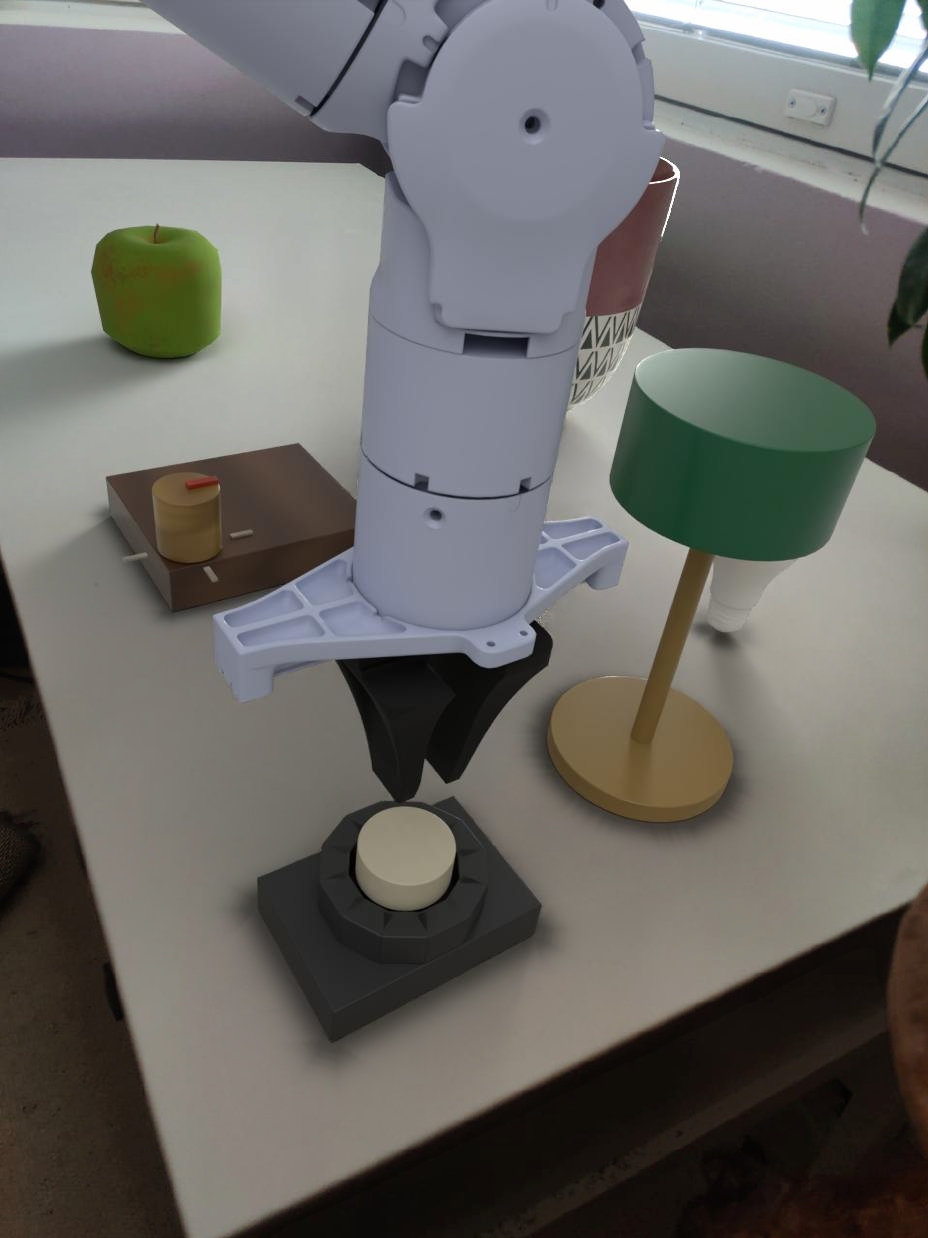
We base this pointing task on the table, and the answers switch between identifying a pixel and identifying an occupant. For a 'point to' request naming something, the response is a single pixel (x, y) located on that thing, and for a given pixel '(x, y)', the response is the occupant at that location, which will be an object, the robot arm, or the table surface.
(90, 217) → the table surface
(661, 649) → the desk lamp
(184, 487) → the dimmer knob
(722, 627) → the lightbulb
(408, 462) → the robot arm
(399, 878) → the button
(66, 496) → the table surface
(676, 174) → the planter
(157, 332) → the apple
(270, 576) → the dimmer panel
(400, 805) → the switch block
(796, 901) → the table surface
